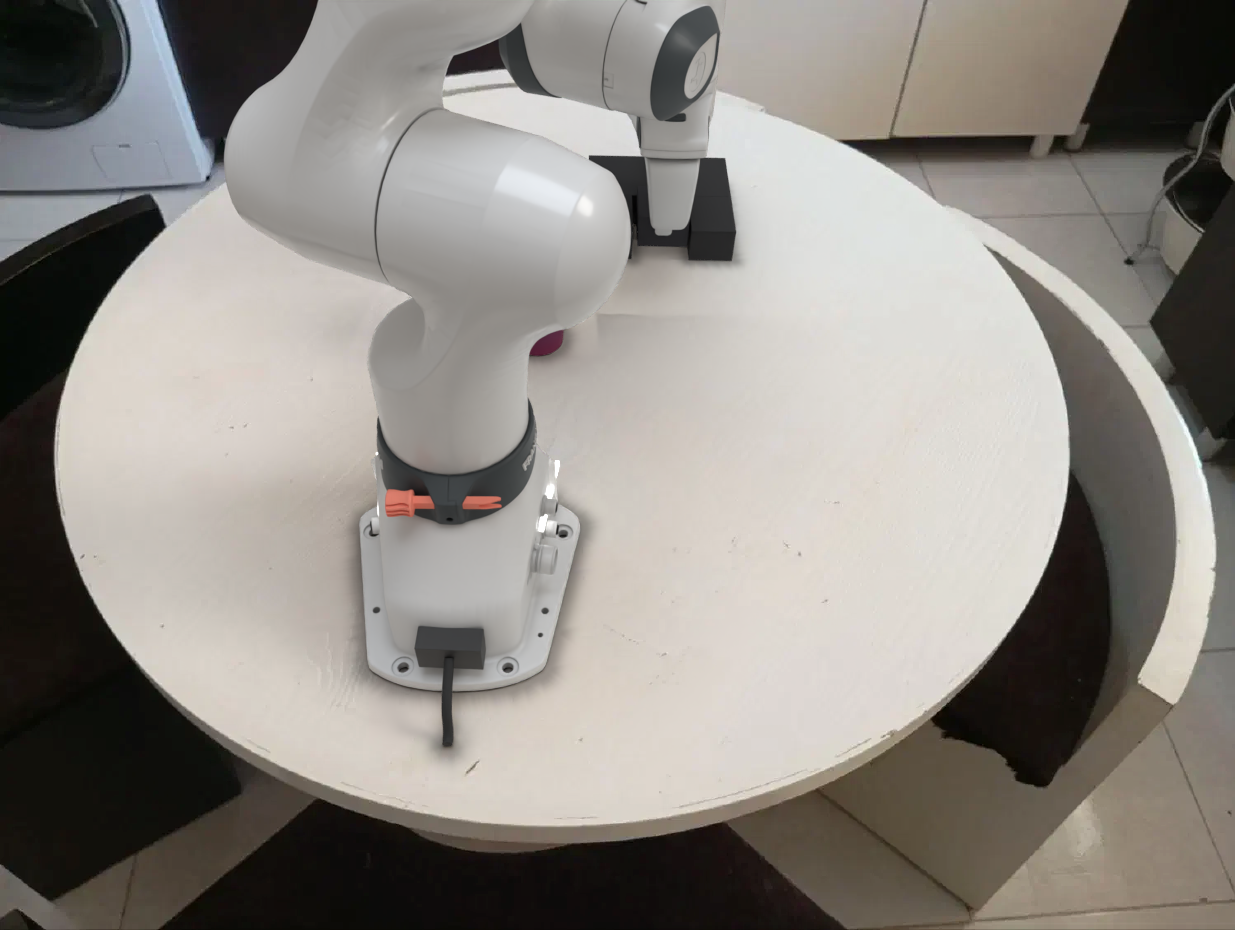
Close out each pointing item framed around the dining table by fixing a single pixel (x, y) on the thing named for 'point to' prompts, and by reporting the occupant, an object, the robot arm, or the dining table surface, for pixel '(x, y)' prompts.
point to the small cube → (647, 232)
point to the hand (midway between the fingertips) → (661, 212)
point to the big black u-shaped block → (709, 209)
